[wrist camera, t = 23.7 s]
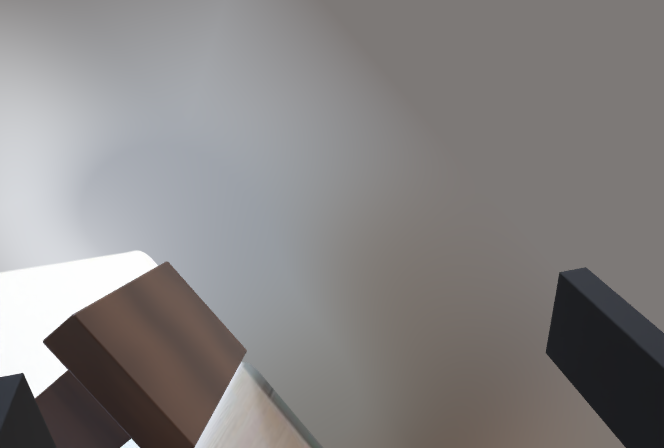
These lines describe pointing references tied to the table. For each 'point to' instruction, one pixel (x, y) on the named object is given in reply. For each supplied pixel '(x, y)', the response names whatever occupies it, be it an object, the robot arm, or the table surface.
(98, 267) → the table surface
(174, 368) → the pedestal
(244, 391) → the table surface
